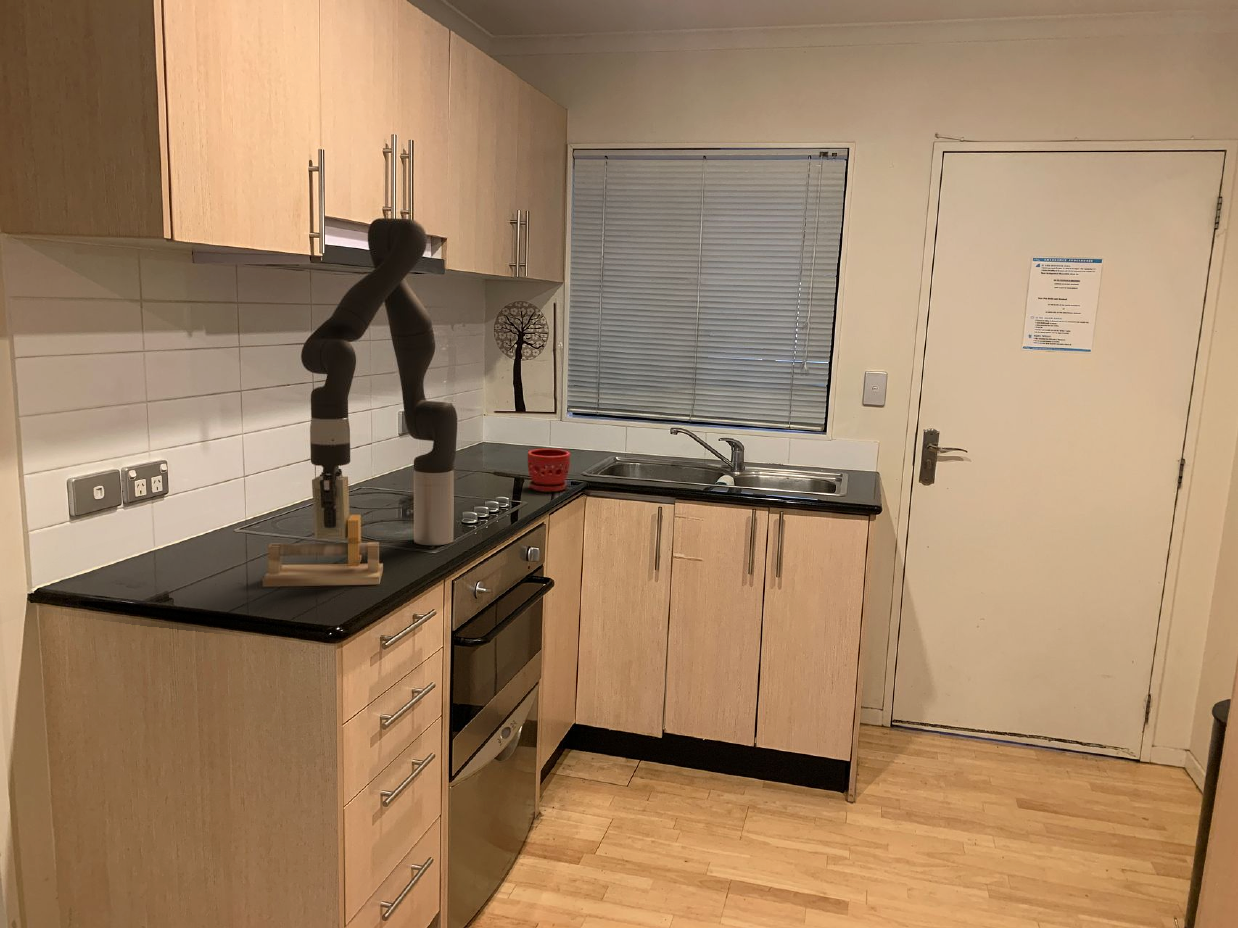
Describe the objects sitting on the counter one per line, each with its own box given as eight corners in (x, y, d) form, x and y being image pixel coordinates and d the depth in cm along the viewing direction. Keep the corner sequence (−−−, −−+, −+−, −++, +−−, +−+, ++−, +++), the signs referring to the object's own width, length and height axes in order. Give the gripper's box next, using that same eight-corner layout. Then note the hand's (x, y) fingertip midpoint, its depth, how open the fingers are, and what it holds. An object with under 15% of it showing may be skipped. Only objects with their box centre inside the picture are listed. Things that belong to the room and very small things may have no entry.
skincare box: (350, 535, 185) (350, 476, 183) (345, 540, 180) (344, 480, 178) (318, 534, 184) (317, 475, 182) (312, 539, 180) (311, 479, 178)
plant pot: (519, 487, 284) (519, 450, 282) (554, 484, 292) (555, 447, 290) (541, 495, 274) (541, 456, 272) (577, 491, 282) (578, 453, 280)
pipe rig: (272, 572, 186) (271, 529, 185) (382, 570, 190) (382, 528, 189) (262, 586, 177) (261, 541, 175) (379, 584, 181) (378, 540, 179)
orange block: (351, 558, 186) (350, 514, 185) (361, 558, 187) (360, 514, 185) (348, 566, 181) (347, 520, 180) (358, 566, 181) (358, 520, 180)
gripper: (345, 445, 173) (347, 532, 176) (353, 435, 187) (355, 516, 190) (304, 445, 172) (306, 533, 174) (315, 434, 185) (317, 516, 188)
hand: (331, 523), depth 182 cm, fingers closed on skincare box, 4 cm apart
